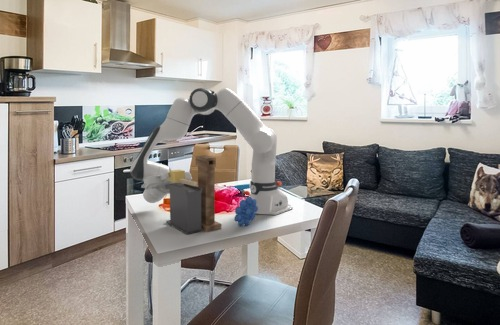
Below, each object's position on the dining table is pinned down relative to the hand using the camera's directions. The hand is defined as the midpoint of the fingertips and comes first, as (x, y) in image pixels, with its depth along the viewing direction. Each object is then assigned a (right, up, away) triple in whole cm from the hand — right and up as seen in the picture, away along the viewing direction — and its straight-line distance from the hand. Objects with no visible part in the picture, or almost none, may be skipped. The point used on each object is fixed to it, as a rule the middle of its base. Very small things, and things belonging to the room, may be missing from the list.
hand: (175, 173), depth 150 cm
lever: (+25, -13, +58) cm, 65 cm away
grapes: (+29, -22, +2) cm, 36 cm away
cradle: (+4, -22, -2) cm, 22 cm away
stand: (+13, -22, -1) cm, 25 cm away
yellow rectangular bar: (+5, -4, -6) cm, 8 cm away
